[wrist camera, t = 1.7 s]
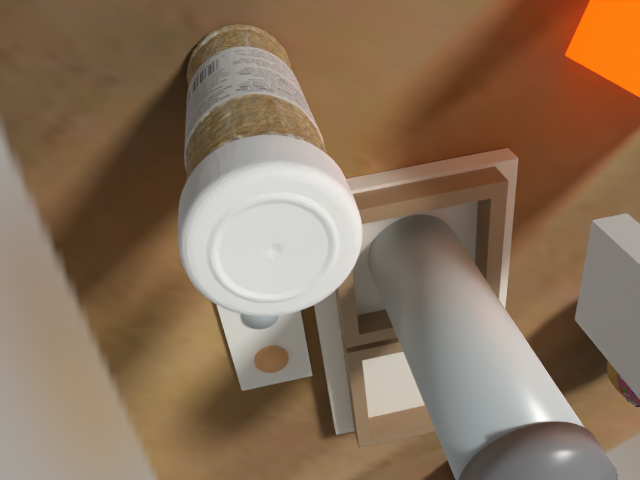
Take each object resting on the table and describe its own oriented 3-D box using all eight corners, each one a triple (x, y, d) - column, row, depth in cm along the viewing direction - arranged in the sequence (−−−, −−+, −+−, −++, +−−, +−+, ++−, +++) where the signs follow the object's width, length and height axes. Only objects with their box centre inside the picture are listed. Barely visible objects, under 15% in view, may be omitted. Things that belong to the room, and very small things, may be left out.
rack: (294, 188, 28) (302, 217, 26) (507, 147, 29) (533, 172, 27) (332, 420, 39) (341, 454, 37) (489, 385, 40) (506, 416, 37)
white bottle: (362, 223, 29) (474, 475, 17) (459, 204, 29) (630, 438, 18) (369, 299, 32) (468, 558, 20) (457, 280, 32) (603, 525, 20)
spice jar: (238, 144, 27) (267, 350, 16) (162, 71, 24) (134, 255, 13) (314, 77, 26) (402, 250, 15) (242, -6, 23) (282, 126, 12)
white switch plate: (212, 287, 31) (212, 293, 30) (293, 271, 31) (294, 276, 31) (241, 387, 35) (242, 393, 35) (311, 372, 36) (313, 378, 35)
